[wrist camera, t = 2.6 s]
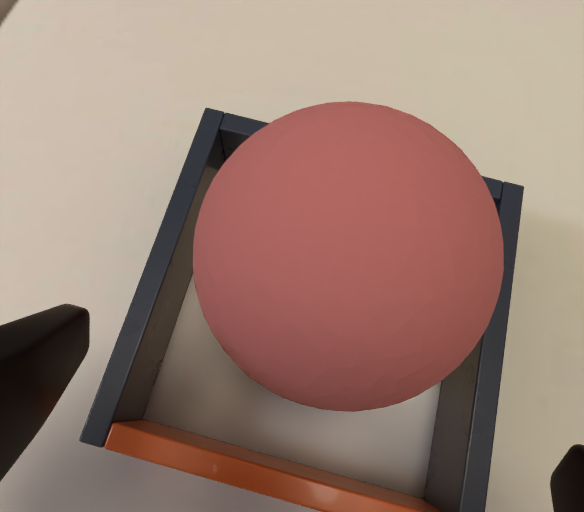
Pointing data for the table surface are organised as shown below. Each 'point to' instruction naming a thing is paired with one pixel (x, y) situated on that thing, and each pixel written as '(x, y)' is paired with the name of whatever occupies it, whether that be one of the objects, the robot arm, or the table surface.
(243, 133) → the square frame
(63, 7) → the table surface
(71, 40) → the table surface
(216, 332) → the pink screw bulb
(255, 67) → the table surface
